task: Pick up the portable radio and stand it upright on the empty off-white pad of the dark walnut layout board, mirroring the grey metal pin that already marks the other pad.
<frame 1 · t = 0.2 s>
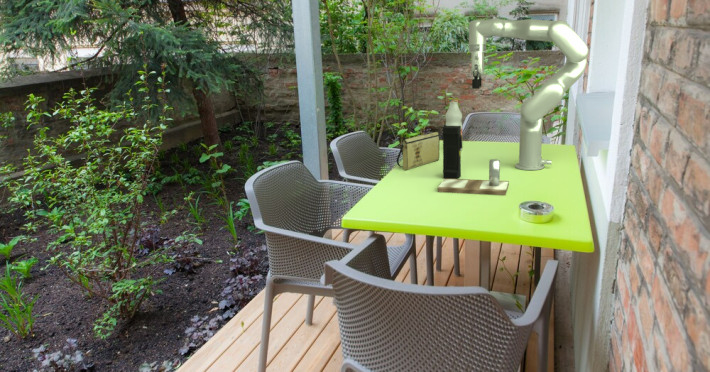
hand: (476, 87, 227), 37 cm above the table, tool pointing down, fingers open, 9 cm apart
fruit juice: (453, 150, 276), on the table
layout board: (473, 188, 200), on the table
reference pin: (494, 185, 197), resting on layout board
clutch purse: (418, 165, 246), on the table
portable radio: (453, 177, 218), on the table
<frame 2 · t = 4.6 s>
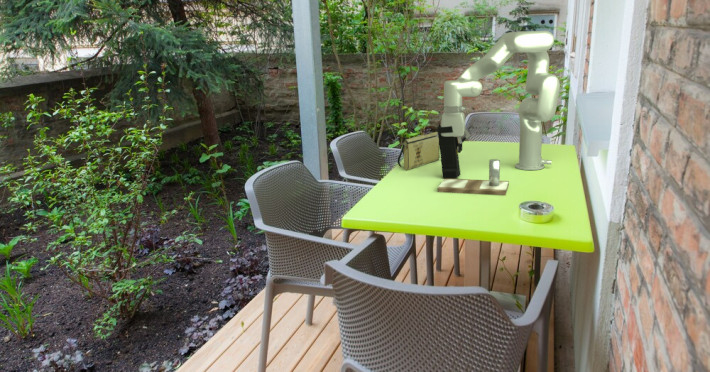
hand: (452, 151, 215), 12 cm above the table, tool pointing down, fingers closed on portable radio, 5 cm apart
portable radio: (452, 177, 218), on the table, touching gripper
everything else where it was.
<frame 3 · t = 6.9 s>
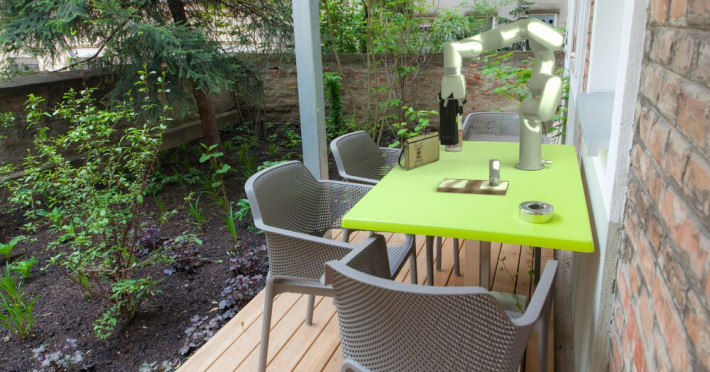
hand: (454, 115, 211), 27 cm above the table, tool pointing down
portable radio: (450, 144, 215), point 14 cm above the table, touching gripper
everything else where it was.
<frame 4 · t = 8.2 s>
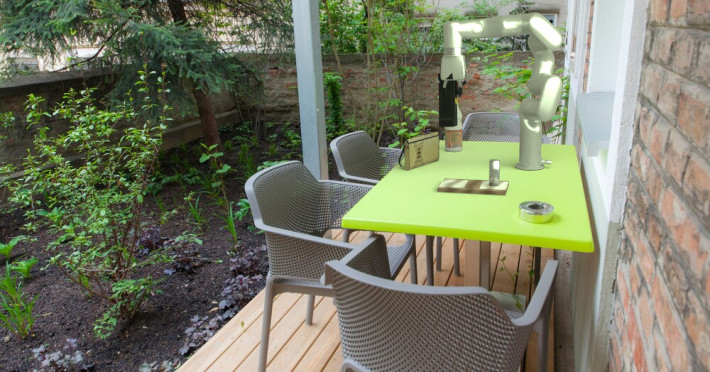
hand: (453, 96, 209), 35 cm above the table, tool pointing down
portable radio: (449, 126, 213), point 22 cm above the table, touching gripper
everything else where it was.
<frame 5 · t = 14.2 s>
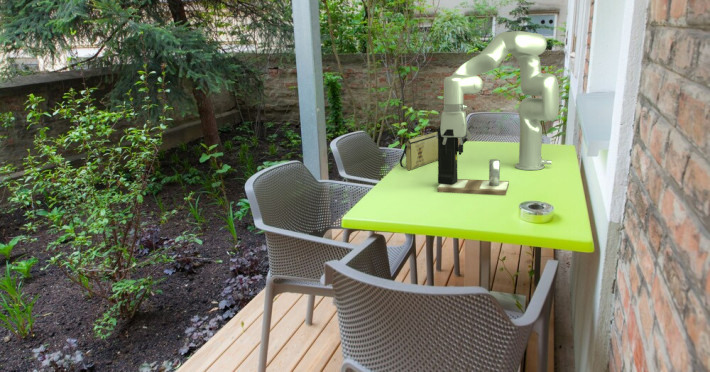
hand: (453, 153, 199), 14 cm above the table, tool pointing down, fingers open, 4 cm apart
portable radio: (448, 183, 204), point 2 cm above the table, touching layout board
everything else where it was.
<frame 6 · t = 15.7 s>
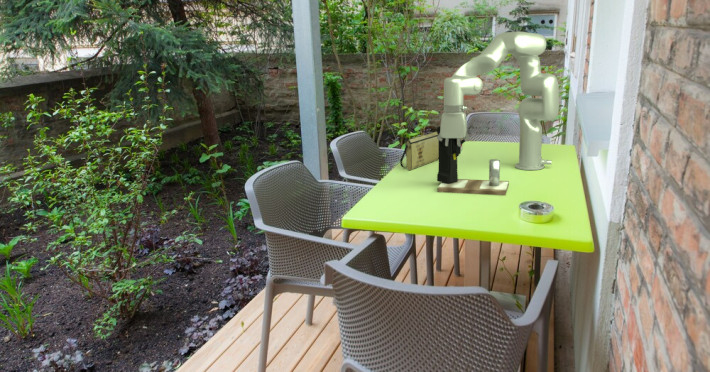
hand: (453, 155, 199), 13 cm above the table, tool pointing down, fingers closed
portable radio: (448, 182, 205), point 2 cm above the table, touching layout board
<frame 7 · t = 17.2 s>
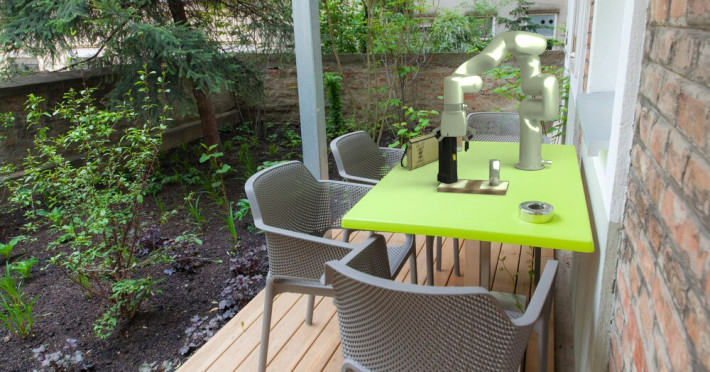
hand: (453, 150, 199), 15 cm above the table, tool pointing down, fingers open, 9 cm apart
portable radio: (448, 182, 205), point 2 cm above the table, touching gripper, layout board
everything else where it was.
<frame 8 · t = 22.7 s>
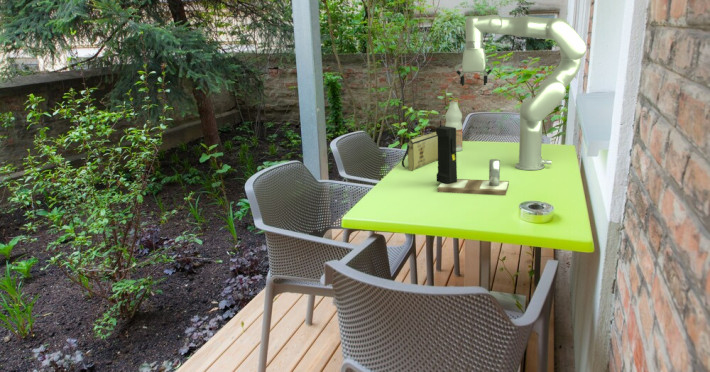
hand: (473, 85, 223), 38 cm above the table, tool pointing down, fingers open, 9 cm apart
portable radio: (447, 182, 205), point 2 cm above the table, touching layout board
at the end: portable radio inside the target area on the layout board (3.1 cm from its centre), point 1.5 cm above the layout board's base; portable radio tilted 0°; the gripper is holding nothing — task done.
